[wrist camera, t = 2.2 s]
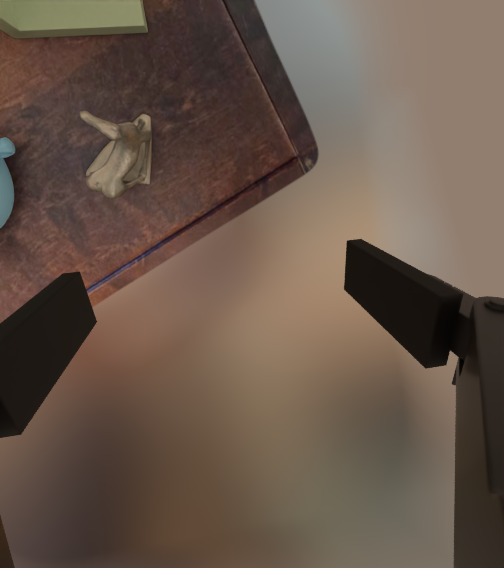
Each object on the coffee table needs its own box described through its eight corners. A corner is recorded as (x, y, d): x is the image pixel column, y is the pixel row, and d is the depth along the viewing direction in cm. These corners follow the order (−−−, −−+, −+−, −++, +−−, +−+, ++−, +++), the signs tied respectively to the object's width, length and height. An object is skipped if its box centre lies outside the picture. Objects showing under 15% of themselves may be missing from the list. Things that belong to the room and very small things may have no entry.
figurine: (117, 209, 39) (69, 236, 26) (79, 167, 37) (3, 172, 23) (180, 158, 38) (165, 158, 24) (145, 110, 35) (105, 81, 22)
